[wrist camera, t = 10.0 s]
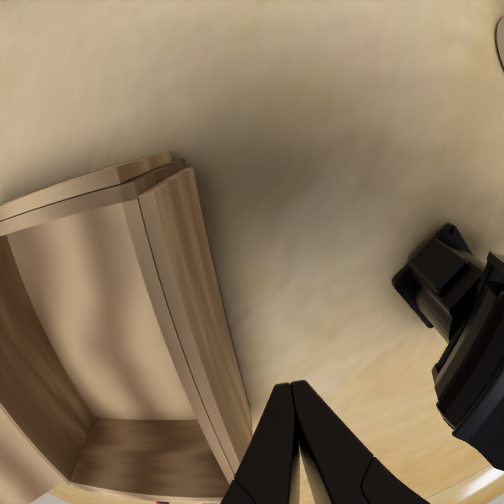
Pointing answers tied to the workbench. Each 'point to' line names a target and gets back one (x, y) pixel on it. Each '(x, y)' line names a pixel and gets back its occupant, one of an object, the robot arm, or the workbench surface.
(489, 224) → the workbench surface
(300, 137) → the workbench surface
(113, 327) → the carton
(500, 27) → the travel mug
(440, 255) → the robot arm
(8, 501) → the far flap
